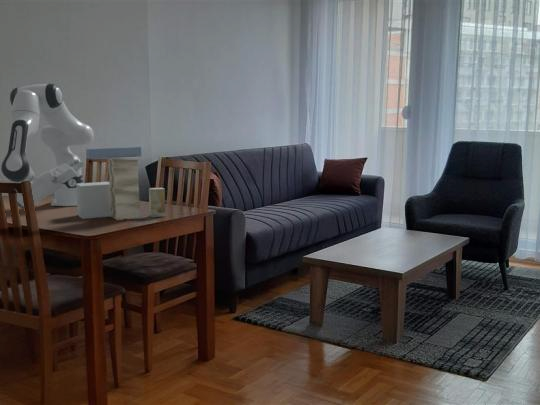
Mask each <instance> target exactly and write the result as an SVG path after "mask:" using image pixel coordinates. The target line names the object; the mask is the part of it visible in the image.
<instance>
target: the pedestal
mask: <svg viewBox="0 0 540 405" xmlns="http://www.w3.org/2000/svg"><path fill="white" fill-rule="evenodd" d="M106 160H107V162H108V178H109V179H108V180H109V181H108V182H109V185H110V206H111V216H110V217H111V218H112V219H113V220H115V219H116V220H115V221H125V220H124V219H127V220H136V219H141V211H140V210H141V209H140V206H141V205H140V188H139V186H140V185H139V161H138V160H140V157H120V158H107V159H106Z"/></svg>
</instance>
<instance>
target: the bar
mask: <svg viewBox="0 0 540 405" xmlns="http://www.w3.org/2000/svg"><path fill="white" fill-rule="evenodd" d="M85 150H86V159H87V160H100V159H102V160H103V159H106V160H108V159H107V158H120V157H139V158H140V157H142V147H141V146H122V147H121V146H118V147H97V148H95V147H93V148H86V149H85Z"/></svg>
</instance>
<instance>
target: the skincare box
mask: <svg viewBox="0 0 540 405" xmlns="http://www.w3.org/2000/svg"><path fill="white" fill-rule="evenodd" d="M148 206H149V209H148V210H149V211H148V212H149V213H148V214H149V217H151V218H161V217H166V189H165V188H164V187H150V188H148Z"/></svg>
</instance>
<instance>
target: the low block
mask: <svg viewBox="0 0 540 405" xmlns="http://www.w3.org/2000/svg"><path fill="white" fill-rule="evenodd" d="M76 193H77V206H76V207H77V208H76V209H77V216H78V217H79V218H81V219H82V220H83V219H94V218H97V217H98V218H106V217H107V218H109V217H111V206H110V185H109V181H101V182H100V181H97V182H82V183H79V184H76Z"/></svg>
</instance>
